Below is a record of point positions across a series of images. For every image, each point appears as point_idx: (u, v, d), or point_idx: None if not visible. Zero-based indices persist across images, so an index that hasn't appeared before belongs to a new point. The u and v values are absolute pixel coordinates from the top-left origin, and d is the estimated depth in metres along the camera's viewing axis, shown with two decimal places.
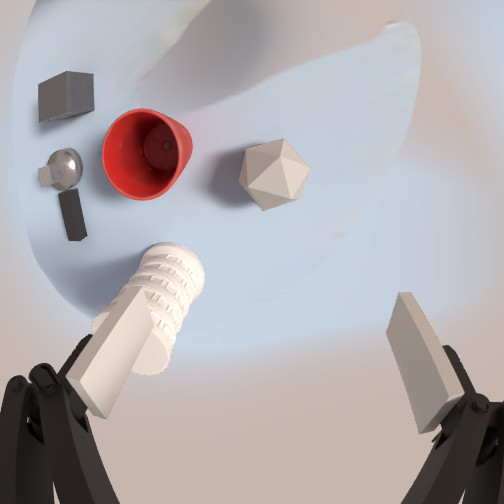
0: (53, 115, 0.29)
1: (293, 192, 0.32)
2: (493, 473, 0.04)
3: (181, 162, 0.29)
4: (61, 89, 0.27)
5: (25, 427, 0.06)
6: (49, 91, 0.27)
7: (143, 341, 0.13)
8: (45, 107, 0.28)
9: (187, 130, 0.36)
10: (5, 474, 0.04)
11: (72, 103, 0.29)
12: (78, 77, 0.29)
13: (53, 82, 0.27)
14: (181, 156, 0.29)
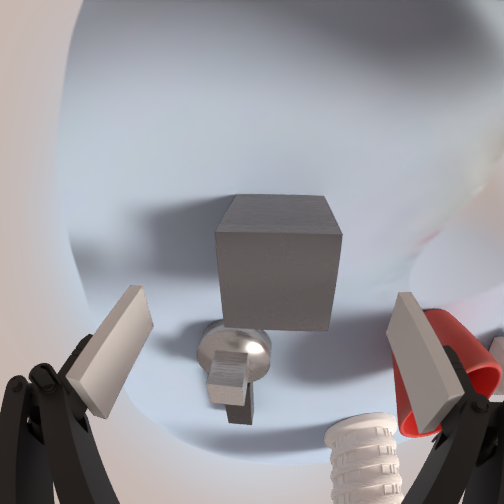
0: (280, 327, 0.17)
1: None
2: (493, 473, 0.04)
3: None
4: (318, 278, 0.15)
5: (25, 427, 0.06)
6: (267, 269, 0.15)
7: (143, 341, 0.13)
8: (250, 303, 0.16)
9: None
10: (5, 474, 0.04)
11: None
12: None
13: (287, 249, 0.14)
14: (488, 397, 0.16)
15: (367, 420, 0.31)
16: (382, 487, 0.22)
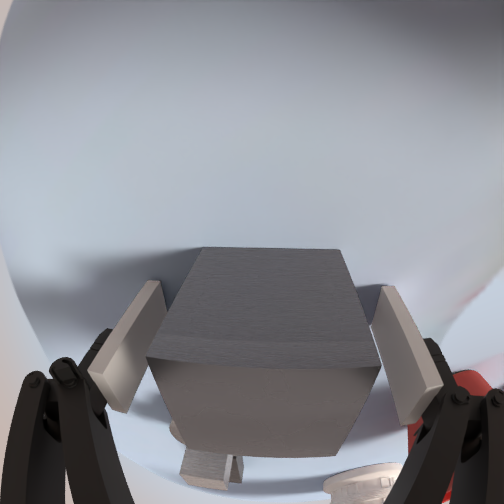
0: (267, 455, 0.09)
1: None
2: (479, 469, 0.04)
3: None
4: (329, 417, 0.08)
5: (41, 425, 0.06)
6: (243, 408, 0.08)
7: None
8: (220, 435, 0.09)
9: None
10: (16, 471, 0.04)
11: None
12: None
13: (277, 388, 0.07)
14: None
15: (371, 472, 0.24)
16: None
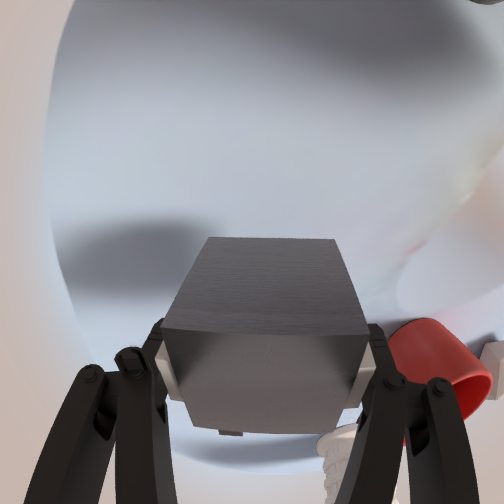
0: (269, 431, 0.11)
1: None
2: (432, 463, 0.05)
3: (475, 407, 0.17)
4: (325, 387, 0.09)
5: (91, 423, 0.07)
6: (247, 377, 0.09)
7: None
8: (225, 409, 0.10)
9: None
10: (53, 468, 0.05)
11: None
12: None
13: (277, 356, 0.08)
14: None
15: None
16: None
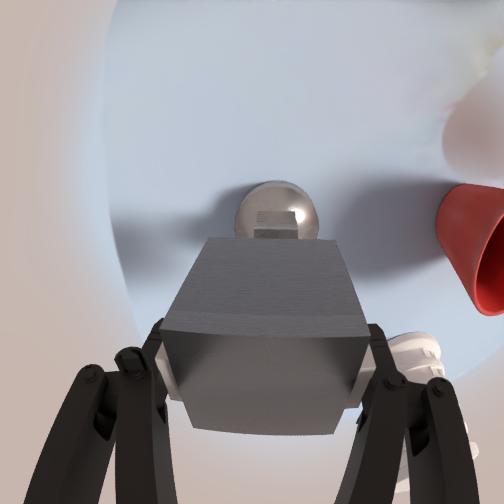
0: (268, 432, 0.11)
1: None
2: (432, 464, 0.05)
3: None
4: (326, 389, 0.09)
5: (90, 423, 0.07)
6: (247, 379, 0.09)
7: None
8: (225, 411, 0.10)
9: None
10: (53, 468, 0.05)
11: None
12: None
13: (277, 358, 0.08)
14: None
15: (412, 339, 0.29)
16: None
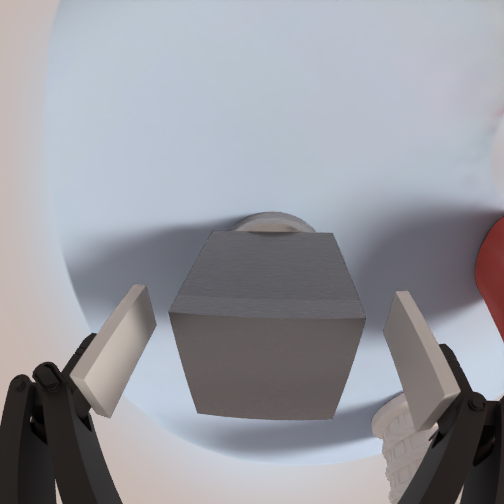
0: (270, 417, 0.11)
1: None
2: (490, 472, 0.04)
3: None
4: (324, 371, 0.10)
5: (28, 427, 0.06)
6: (250, 361, 0.10)
7: (146, 340, 0.14)
8: (228, 394, 0.11)
9: None
10: (7, 473, 0.04)
11: None
12: None
13: (279, 339, 0.09)
14: None
15: None
16: None
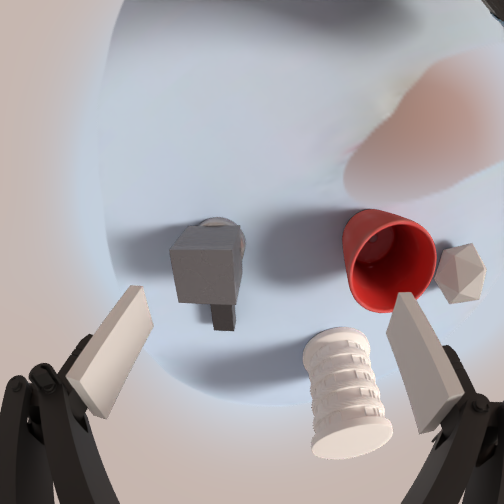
0: (208, 302, 0.30)
1: (480, 293, 0.30)
2: (493, 473, 0.04)
3: (430, 278, 0.27)
4: (223, 273, 0.28)
5: (25, 427, 0.06)
6: (196, 268, 0.28)
7: (143, 341, 0.13)
8: (190, 287, 0.29)
9: None
10: (5, 474, 0.04)
11: (236, 287, 0.30)
12: (236, 245, 0.30)
13: (205, 258, 0.28)
14: None
15: (338, 332, 0.41)
16: (358, 389, 0.31)
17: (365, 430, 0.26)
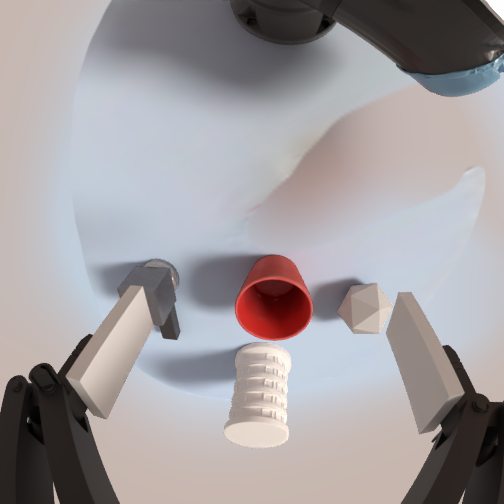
0: None
1: (381, 328, 0.40)
2: (493, 473, 0.04)
3: (310, 318, 0.38)
4: (151, 305, 0.39)
5: (25, 428, 0.06)
6: None
7: (143, 341, 0.13)
8: None
9: (295, 265, 0.44)
10: (5, 474, 0.04)
11: (164, 314, 0.42)
12: (162, 285, 0.41)
13: None
14: (311, 315, 0.37)
15: (258, 346, 0.52)
16: (262, 394, 0.43)
17: (260, 427, 0.38)
